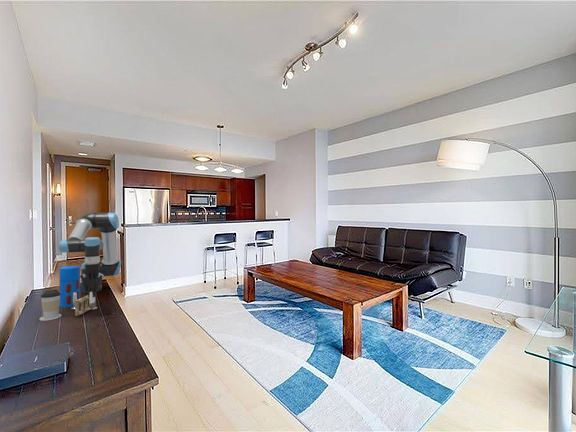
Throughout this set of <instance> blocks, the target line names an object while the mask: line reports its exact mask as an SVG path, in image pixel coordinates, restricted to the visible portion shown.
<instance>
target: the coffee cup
mask: <svg viewBox="0 0 576 432" xmlns="http://www.w3.org/2000/svg"><path fill="white" fill-rule="evenodd" d="M60 295H61V294H60V291H59V289H54V290H47V291H44V292H43V293H42V294H41V295H40V298H41V301H40V303H41V309H42V310H41V311H42V317H43V318H44V319H50V318H55V317H57V316H58V314H60Z"/></svg>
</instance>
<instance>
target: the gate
mask: <svg viewBox="0 0 576 432" xmlns="http://www.w3.org/2000/svg"><path fill="white" fill-rule="evenodd" d="M79 302H80V304H79ZM92 308H93V303H90V297H88V294H87V295H84V296H83V297H80V299H78V300H76V301H75V309H74V315H75V317H79V316H80V315H83V314H84V313H86V312H88V311H89V310H90V309H92ZM90 311H91V310H90Z"/></svg>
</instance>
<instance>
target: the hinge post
mask: <svg viewBox="0 0 576 432" xmlns="http://www.w3.org/2000/svg"><path fill="white" fill-rule="evenodd" d="M97 309H98V306H96V301H95V302H94V303H93V308H92V309H90V311H93V310H97Z"/></svg>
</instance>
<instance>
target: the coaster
mask: <svg viewBox="0 0 576 432" xmlns="http://www.w3.org/2000/svg"><path fill="white" fill-rule="evenodd" d="M61 317H62V314H61V313H59V314H58V316H57V317H55V318H50V319H44V318H43V316H41V317H39V321H41V322H44V321H45V322H47V321H48V322H49V321H53V320H56V319H59V318H61Z"/></svg>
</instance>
